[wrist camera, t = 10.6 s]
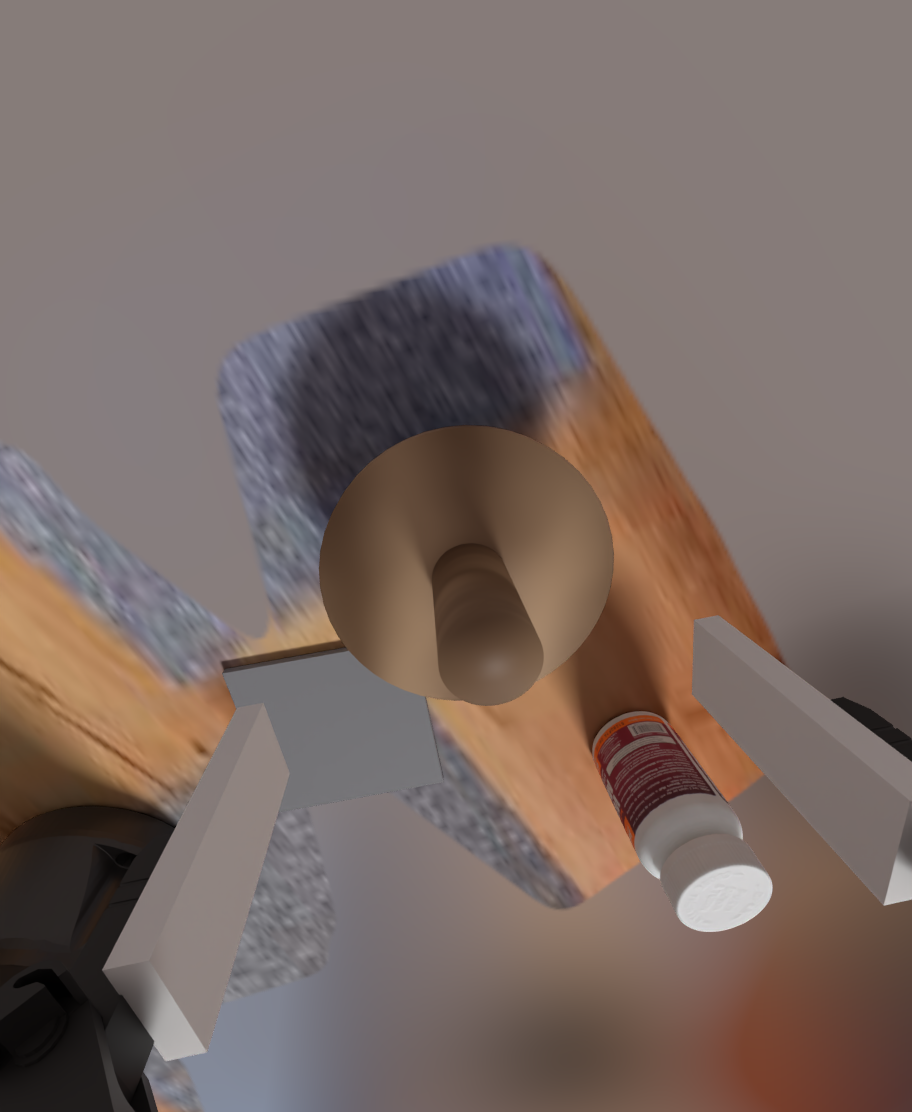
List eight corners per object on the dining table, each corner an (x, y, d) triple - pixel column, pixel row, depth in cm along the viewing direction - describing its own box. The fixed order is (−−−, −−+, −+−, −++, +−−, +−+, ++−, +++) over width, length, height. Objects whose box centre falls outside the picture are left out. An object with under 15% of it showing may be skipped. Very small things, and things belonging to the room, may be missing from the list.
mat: (280, 806, 34) (278, 812, 34) (225, 668, 30) (222, 673, 30) (443, 776, 35) (443, 782, 34) (412, 635, 30) (412, 639, 30)
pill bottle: (572, 751, 35) (641, 915, 24) (631, 693, 33) (731, 840, 23) (630, 786, 36) (718, 953, 26) (688, 732, 35) (806, 886, 24)
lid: (360, 709, 26) (337, 844, 18) (287, 453, 21) (215, 497, 13) (611, 663, 26) (688, 779, 19) (599, 400, 21) (700, 414, 14)
